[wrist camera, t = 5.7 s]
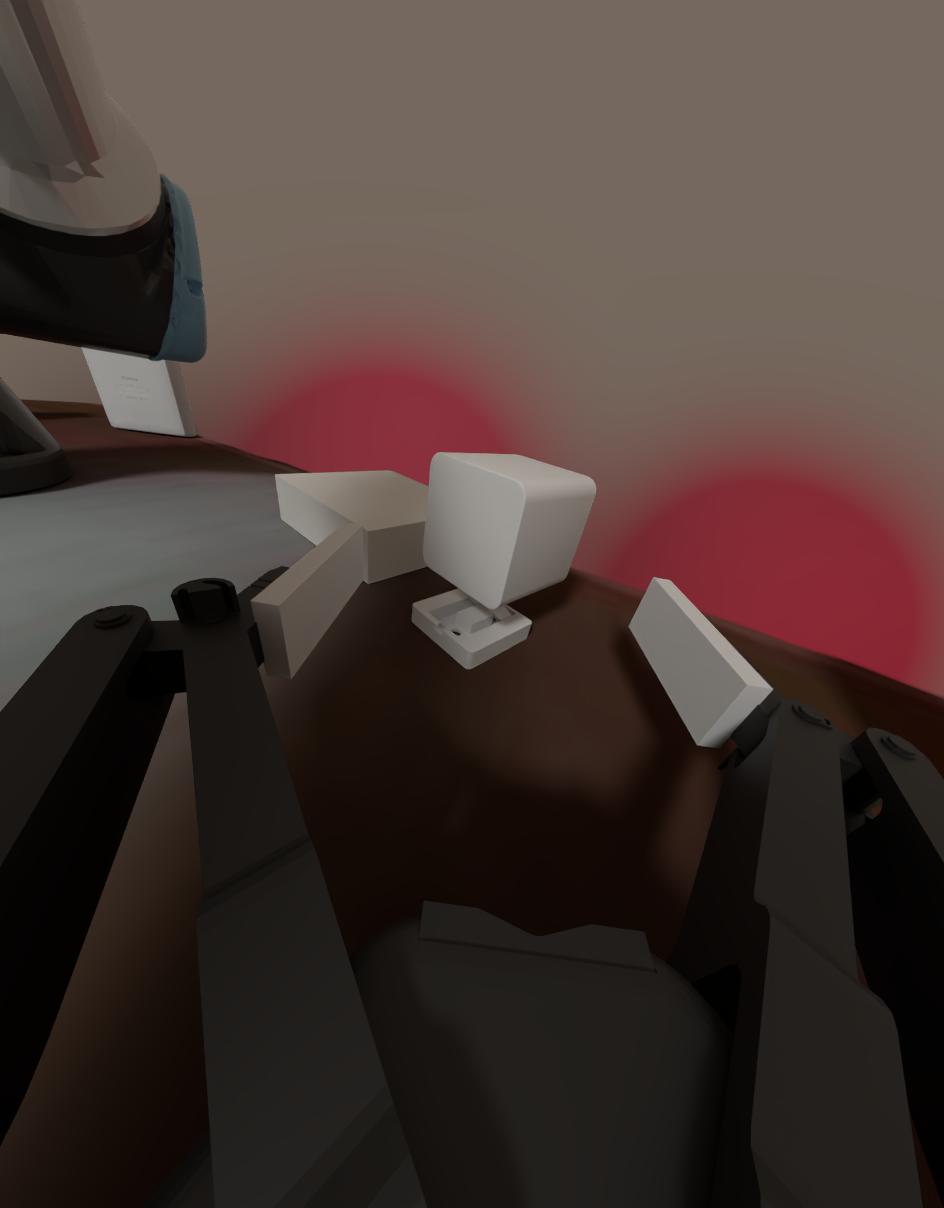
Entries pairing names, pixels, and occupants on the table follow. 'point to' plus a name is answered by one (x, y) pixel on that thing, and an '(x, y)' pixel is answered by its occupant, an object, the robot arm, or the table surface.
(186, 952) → the table surface
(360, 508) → the plinth
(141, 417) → the photo printer
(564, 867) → the table surface
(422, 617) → the security camera
